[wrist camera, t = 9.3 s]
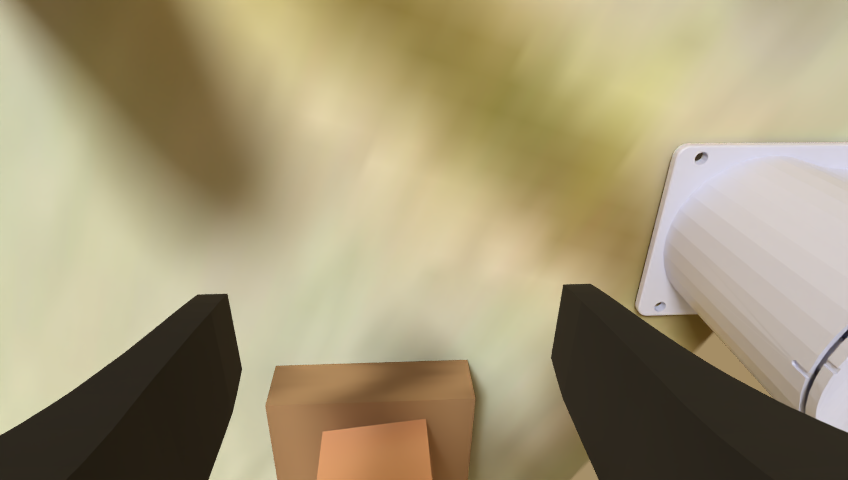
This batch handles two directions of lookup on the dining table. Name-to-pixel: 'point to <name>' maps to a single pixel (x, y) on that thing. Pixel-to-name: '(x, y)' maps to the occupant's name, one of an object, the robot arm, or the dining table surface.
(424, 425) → the peach foam cube
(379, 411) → the block
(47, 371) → the dining table surface
